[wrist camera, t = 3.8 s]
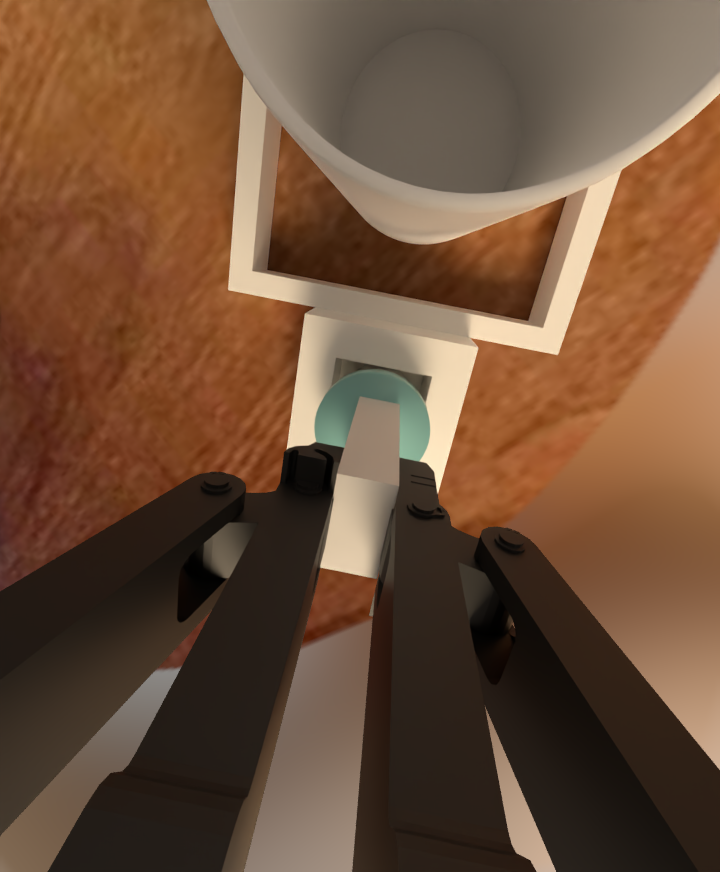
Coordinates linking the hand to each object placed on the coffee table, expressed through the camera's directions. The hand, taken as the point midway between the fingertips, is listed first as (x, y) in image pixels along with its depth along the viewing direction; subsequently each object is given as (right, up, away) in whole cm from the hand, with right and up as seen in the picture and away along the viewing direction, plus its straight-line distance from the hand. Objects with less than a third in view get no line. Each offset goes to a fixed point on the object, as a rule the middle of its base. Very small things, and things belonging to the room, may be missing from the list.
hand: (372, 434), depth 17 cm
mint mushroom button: (0, +2, +5) cm, 5 cm away
